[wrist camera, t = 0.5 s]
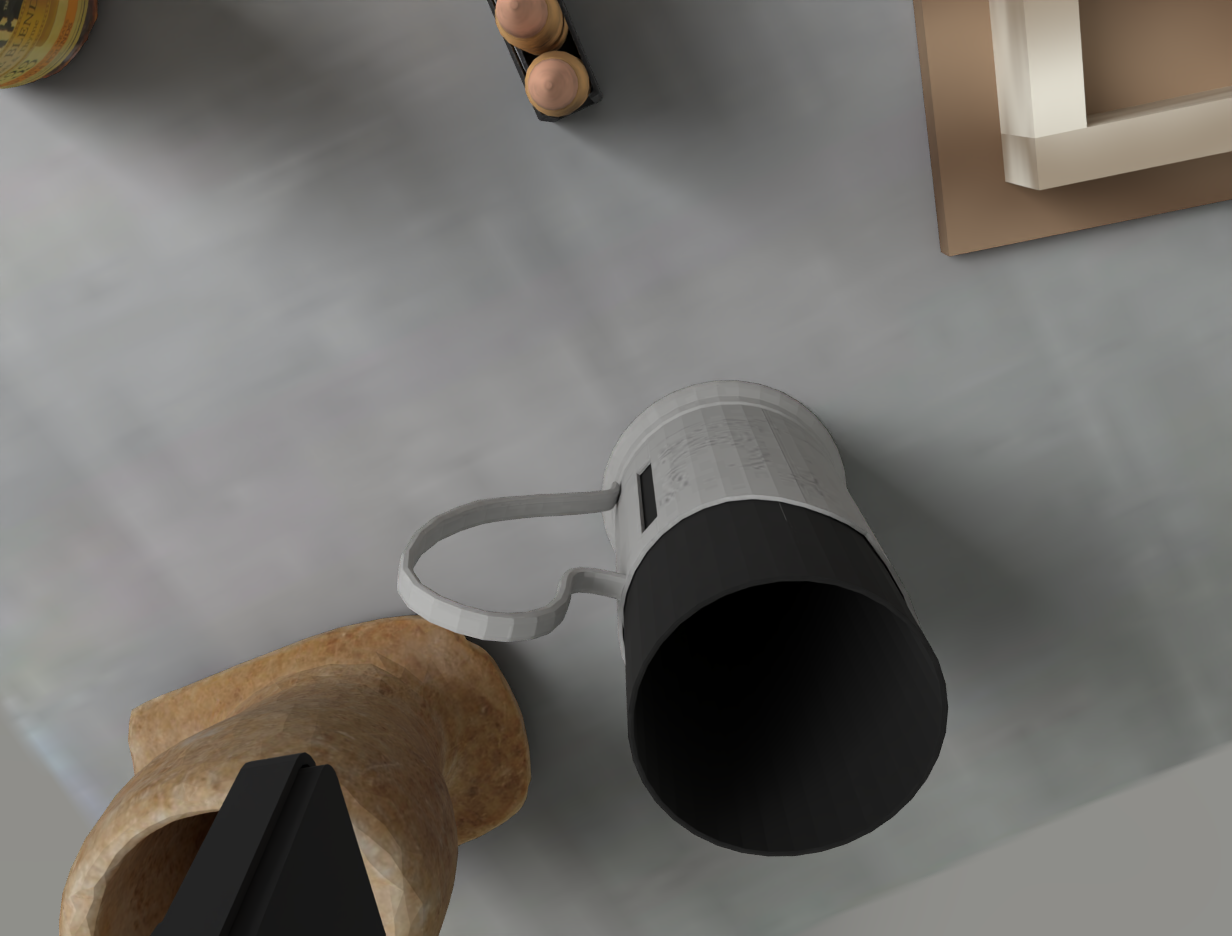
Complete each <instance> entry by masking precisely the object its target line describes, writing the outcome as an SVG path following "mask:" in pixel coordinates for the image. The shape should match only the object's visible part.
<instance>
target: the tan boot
mask: <svg viewBox="0 0 1232 936" xmlns="http://www.w3.org/2000/svg"><path fill="white" fill-rule="evenodd" d="M128 742H129V747H130V751H131V756H132V760H133V767H134V774H135V776H134V777H133V778H132V779H131V780H130V781H129V782H128V783H127V784H126V785H125V786H124V787H123V788H122V789H121V790H120V792H119V793H118V794H117V795H116V796H115V797H114V799H113V800H112V802H111V803H110V805H109V806H108V808H107V809H106V810H105V812H104V813H103V815H102V816H101V818H100V819H99V820H98V822H97V823H96V825H95V826H94V827H93V829H92V830H91V832H90V833H89V835H88V836H87V837H86V839H85V841H84V843H83V845H82V847H81V849H80V851H79V853H78V855H77V857H76V859H75V861H74V863H73V865H72V867H71V869H70V873H69V876H68V879H67V882H66V885H65V888H64V891H63V894H62V902H61V911H60V919H59V936H150V935H151V933H152V932H153V931H154V929H155V928H156V926H157V925H158V924H159V923H161V922H162V921H163V919H164V917H165V915H166V913H167V911H168V909H169V907H170V905H171V903H172V901H173V899H174V898H175V896H176V894H177V892H178V890H179V888H180V886H181V884H182V882H183V880H184V878H185V876H186V874H187V872H188V870H189V868H190V866H191V864H192V862H193V861H194V859H195V857H196V855H197V853H198V851H199V849H200V847H201V845H202V843H203V841H204V839H205V837H206V835H207V833H208V831H209V829H210V827H211V826H212V824H213V822H214V820H215V818H216V816H217V814H218V812H219V810H220V808H221V806H222V804H223V802H224V800H225V798H226V796H227V794H228V792H229V791H230V789H231V787H232V785H233V783H234V781H235V779H236V777H237V775H238V773H239V771H240V769H241V768H242V767H243V765H244V764H245V763H247V762H250V761H256V760H261V759H267V758H273V757H279V756H285V755H291V754H297V753H303V752H306V753H308V754H309V755H311V757H312V758H313V760H314V761H315V763H316V766H319V765H325V764H329V765H331V766H332V767H333V769H334V770H335V772H336V775H337V777H338V780H339V783H340V787H341V790H342V793H343V796H344V800H345V803H346V806H347V809H348V813H349V816H350V819H351V822H352V826H353V829H354V832H355V835H356V839H357V842H358V845H359V848H360V852H361V855H362V858H363V861H364V865H365V868H366V871H367V874H368V878H369V881H370V884H371V887H372V891H373V894H374V897H375V900H376V904H377V907H378V910H379V913H380V917H381V920H382V923H383V926H384V930H385V933H386V936H439V933H440V930H441V927H442V924H443V921H444V918H445V915H446V911H447V908H448V905H449V902H450V897H451V894H452V890H453V886H454V879H455V873H456V865H457V857H458V846H459V845H461V844H463V843H465V842H468V841H470V840H473V839H475V838H478V837H480V836H482V835H484V834H486V833H487V832H489V831H491V830H492V829H494V828H496V827H498V826H499V825H501V824H503V823H504V822H506V821H507V820H508V819H510V818H511V817H512V816H513V815H515V814H516V813H517V812H518V811H519V810H520V809H521V807H522V806H523V804H524V802H525V800H526V798H527V792H528V785H529V783H530V781H531V766H530V752H529V744H528V739H527V734H526V729H525V725H524V720H523V716H522V713H521V711H520V708H519V706H518V703H517V701H516V699H515V697H514V695H513V693H512V691H511V689H510V687H509V685H508V683H507V681H506V679H505V677H504V676H503V674H502V672H501V671H500V669H499V667H498V666H497V664H496V662H495V660H494V659H493V658H492V657H491V656H490V655H489V654H488V653H487V652H486V650H484V649H483V648H481V647H480V646H478V645H476V644H474V643H472V642H470V641H468V640H466V638H465V636H464V635H462V634H459V633H455V632H453V631H450V630H448V629H445V628H443V627H440V626H438V625H436V624H433V623H431V622H429V621H427V620H426V619H424V618H423V617H421V616H420V615H408V616H399V617H390V618H383V619H378V620H373V621H368V622H363V623H358V624H354V625H350V626H345V627H341V628H337V629H334V630H331V631H328V632H325V633H322V634H318V635H315V636H312V637H309V638H306V639H304V640H301V641H298V642H296V643H293V644H291V645H288V646H286V647H283V648H281V649H278V650H275V651H273V652H270V653H268V654H265V655H262V656H260V657H257V658H255V659H252V660H249V661H247V662H244V663H241V664H239V665H236V666H234V667H231V668H229V669H227V670H224V671H222V672H219V673H217V674H214V675H212V676H210V677H207V678H205V679H202V680H200V681H197V682H195V683H192V684H190V685H188V686H185V687H183V688H180V689H177V690H175V691H172V692H169V693H166V694H164V695H161V696H159V697H157V698H154V699H152V700H150V701H147V702H145V703H144V704H142V705H140V706H138V707H136V708H135V709H133V710H132V712H131V717H130V722H129V736H128Z"/></svg>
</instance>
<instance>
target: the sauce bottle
mask: <svg viewBox="0 0 1232 936" xmlns="http://www.w3.org/2000/svg"><path fill="white" fill-rule="evenodd" d="M97 6H98V0H0V89H5V88H11V87H17V86H20V85H24V84H27V83H30V82H35V81H36V80H38V79H40V78H47V77H49V76H51V75H53V74H56V73H58V72H60V71H61V70H62V69H63V67H65V66H66V65H67V64H68V63H69V62H70V61H71V60H72V59H73V58H74V57H75V55H76V54H77V53H78V51H79V50H80V48H81V47H82V46H83V44H84V43H85V42H86V41H87V39H88V34H89V32H90V31H91V30H92V28H93V25H94V23H95V21H96V20H97V16H98V14H97Z"/></svg>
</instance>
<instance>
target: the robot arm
mask: <svg viewBox="0 0 1232 936" xmlns="http://www.w3.org/2000/svg"><path fill="white" fill-rule="evenodd" d="M150 936H386V933H385V930H384V926H383V923H382V920H381V917H380V913H379V910H378V907H377V904H376V900H375V897H374V894H373V891H372V887H371V884H370V881H369V878H368V874H367V871H366V868H365V865H364V861H363V858H362V855H361V852H360V848H359V845H358V842H357V839H356V835H355V832H354V829H353V826H352V822H351V819H350V816H349V813H348V809H347V806H346V803H345V800H344V796H343V793H342V790H341V787H340V783H339V780H338V777H337V775H336V772H335V770H334V769H333V767H332V766H331V765H329V764H325V765H319V766H316V763H315V761H314V760H313V758H312V757H311V755H309V754H308V753H306V752H303V753H297V754H291V755H285V756H279V757H273V758H267V759H261V760H256V761H250V762H247V763H245V764H244V765H243V767H242V768H241V769H240V771H239V773H238V775H237V777H236V779H235V781H234V783H233V785H232V787H231V789H230V791H229V792H228V794H227V796H226V798H225V800H224V802H223V804H222V806H221V808H220V810H219V812H218V814H217V816H216V818H215V820H214V822H213V824H212V826H211V827H210V829H209V831H208V833H207V835H206V837H205V839H204V841H203V843H202V845H201V847H200V849H199V851H198V853H197V855H196V857H195V859H194V861H193V862H192V864H191V866H190V868H189V870H188V872H187V874H186V876H185V878H184V880H183V882H182V884H181V886H180V888H179V890H178V892H177V894H176V896H175V898H174V899H173V901H172V903H171V905H170V907H169V909H168V911H167V913H166V915H165V917H164V919H163V921H162V922H161V923H159V924H158V925H157V926H156V928H155V929H154V931H153V932H152V933H151V935H150Z"/></svg>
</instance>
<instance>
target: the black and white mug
mask: <svg viewBox="0 0 1232 936" xmlns="http://www.w3.org/2000/svg"><path fill="white" fill-rule="evenodd" d="M597 512H602V515H603V520H604V525H605V530H606V533H607V535H608V538H609V540H610V543H611V545H612V548H613V550H614V552H615V553H616V573H615V572H611V571H606V570H601V569H595V568H583V567H579V568H573V569H570V570H568V571H567V572H565V573H564V574H563V576H562V577H561V580H560V582H559V584H558V588H557V592H556V596H555V598H554V600H553V601H551V602H550V603H549V604H548V605H547V606H545V607H542V608H539V609H535V610H532V611H529V612H517V613H500V612H490V611H484V610H480V609H476V608H473V607H469V606H466V605H463V604H460V603H457V602H455V601H452V600H450V599H447V598H445V597H442V596H440V595H439V594H437V593H435V592H434V591H432V590H431V589H429V588H428V587H426V586H424V585H423V584H422V583H421V582H420V580H419V579H418V577H417V576H416V574H415V573H414V571H413V568H414V566H415V564H416V563H417V561H418V559H419V558H420V556H421V555H422V554H423V553H425V552H426V551H427V550H428V549H429V548H431V547H432V546H433V545H434V544H436V543H437V542H438V541H440V540H442V539H444V538H446V537H449V536H451V535H453V534H455V533H457V532H459V531H462V530H465V529H468V528H471V527H474V526H477V525H480V524H485V523H491V522H497V521H504V520H512V519H521V518H531V517H544V516H562V515H577V514H588V513H597ZM397 591H398V593H399V595H400V596H401V598H402V599H403V601H404V602H405V603H406V605H407V606H408V608H409V609H411V610H412V611H414V612H415V613H417V614H418V615H420V616H421V617H423V618H424V619H426V620H427V621H429V622H431V623H433V624H436V625H438V626H440V627H443V628H445V629H448V630H450V631H453V632H455V633H459V634H462V635H466V636H470V637H474V638H478V639H482V640H491V641H502V642H514V641H524V640H532V639H535V638H538V637H541V636H544V635H547V634H549V633H550V632H551V631H552V630H554V629H555V628H556V627H557V626H558V625H559V624H560V623H561V622H562V621H563V619H564V617H565V614H566V612H567V609H568V606H569V603H570V599H571V594H574V593H578V592H581V593H592V594H597V595H602V596H607V597H611V598H615V599H617V621H618V639H619V644H620V649H621V654H622V659H623V661H624V663H625V667H626V693H627V719H628V738H629V743H630V748H631V752H632V757H633V761H634V763H635V766H636V768H637V770H638V773H639V775H640V778H641V780H642V782H643V784H644V785H645V787H646V788H647V790H648V791H649V793H650V794H651V796H652V797H653V798H654V800H655V801H656V803H657V804H658V805H659V806H660V807H661V808H662V809H663V810H664V811H665V812H666V813H667V814H668V815H669V816H670V817H671V818H672V819H673V820H674V821H676V822H677V823H679V824H680V825H681V826H683V827H684V828H686V829H687V830H689V831H690V832H691V833H693V834H694V835H696V836H698V837H701V838H703V839H705V840H707V841H709V842H711V843H713V844H715V845H717V846H721V847H724V848H728V849H731V850H734V851H738V852H741V853H747V854H755V855H762V856H798V855H804V854H810V853H817V852H822V851H825V850H829V849H832V848H835V847H838V846H841V845H844V844H847V843H849V842H852V841H854V840H856V839H858V838H860V837H862V836H864V835H866V834H868V833H870V832H872V831H873V830H875V829H876V828H878V827H879V826H881V825H882V824H883V823H885V822H886V821H888V820H889V819H891V818H892V817H893V816H895V815H896V814H897V813H898V812H899V811H900V810H901V809H902V808H903V807H904V806H905V805H906V804H907V803H908V802H909V801H910V800H911V799H912V798H913V797H914V796H915V794H916V793H917V792H918V790H919V789H920V788H921V786H922V785H923V784H924V782H925V781H926V780H927V778H928V776H929V774H930V772H931V770H932V768H933V766H934V764H935V762H936V761H937V759H938V757H939V753H940V750H941V747H942V743H943V740H944V737H945V733H946V725H947V714H948V702H947V693H946V683H945V680H944V677H943V674H942V671H941V668H940V664H939V661H938V659H937V657H936V655H935V654H934V652H933V650H932V648H931V646H930V645H929V643H928V641H927V639H926V637H925V636H924V634H923V632H922V630H921V628H920V623H919V621H918V618H917V615H916V613H915V610H914V608H913V605H912V602H911V600H910V597H909V595H908V593H907V591H906V589H905V587H904V586H903V584H902V582H901V580H900V579H899V577H898V575H897V573H896V572H895V570H894V568H893V566H892V564H891V563H890V561H889V559H888V558H887V556H886V554H885V553H884V551H883V549H882V548H881V546H880V544H879V543H878V541H877V539H876V537H875V536H874V534H873V532H872V531H871V529H870V527H869V526H868V524H867V522H866V521H865V519H864V517H863V515H862V514H861V512H860V510H859V509H858V507H857V505H856V504H855V502H854V500H853V499H852V497H851V495H850V493H849V492H848V490H847V486H846V478H845V470H844V466H843V463H842V460H841V457H840V454H839V451H838V448H837V446H836V445H835V443H834V441H833V439H832V437H831V436H830V434H829V432H828V430H827V429H826V428H825V427H824V426H823V424H822V423H821V422H820V421H819V420H818V418H817V417H816V416H815V415H814V414H813V413H812V412H810V411H809V410H808V409H807V408H806V407H804V406H803V405H802V404H801V403H800V402H798V401H797V400H795V399H793V398H791V397H789V396H788V395H786V394H784V393H782V392H781V391H778V390H775V389H772V388H769V387H766V386H764V385H761V384H756V383H750V382H744V381H712V382H706V383H701V384H695V385H692V386H689V387H686V388H683V389H681V390H678V391H675V392H673V393H671V394H669V395H667V396H666V397H664V398H662V399H660V400H658V401H657V402H655V403H653V404H652V405H651V406H650V407H648V408H647V409H646V410H645V411H644V412H642V413H641V414H640V415H639V416H637V417H636V419H635V420H634V421H633V422H632V423H631V424H630V426H629V427H628V428H627V429H626V430H625V431H624V432H623V434H622V436H621V437H620V439H619V441H618V442H617V444H616V446H615V447H614V449H613V451H612V453H611V456H610V458H609V461H608V464H607V466H606V469H605V473H604V479H603V485H602V490H601V491H592V492H578V493H560V494H538V495H526V496H514V497H500V498H492V499H484V500H477V501H474V502H471V503H468V504H465V505H462V506H459V507H456V508H454V509H452V510H449V511H447V512H445V513H443V514H440V515H438V516H436V517H434V518H433V519H431V520H430V521H429V522H428V523H426V524H425V525H424V526H423V527H421V528H420V529H419V530H417V531H416V532H415V534H414V535H413V536H412V538H411V540H410V542H409V543H408V545H407V547H406V549H405V550H404V552H403V554H402V556H401V559H400V564H399V570H398V582H397Z"/></svg>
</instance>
